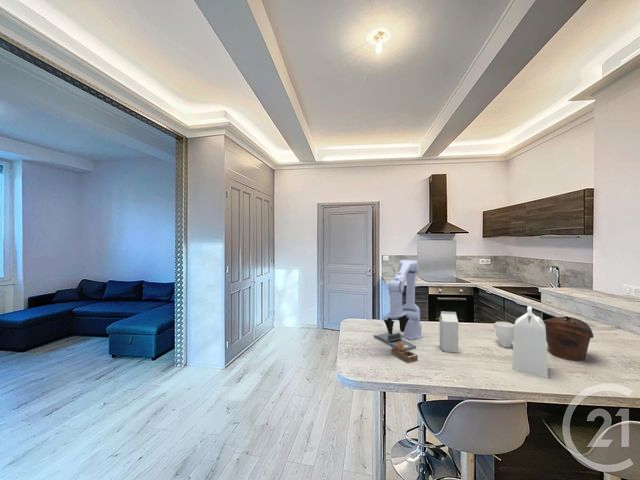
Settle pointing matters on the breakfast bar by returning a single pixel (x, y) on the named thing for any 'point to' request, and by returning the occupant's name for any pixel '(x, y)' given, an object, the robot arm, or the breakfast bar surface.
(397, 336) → the cover
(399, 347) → the peg
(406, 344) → the pattern board
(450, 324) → the milk carton
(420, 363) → the breakfast bar surface
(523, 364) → the milk
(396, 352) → the socket board
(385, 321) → the robot arm
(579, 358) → the case
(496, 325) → the mug
